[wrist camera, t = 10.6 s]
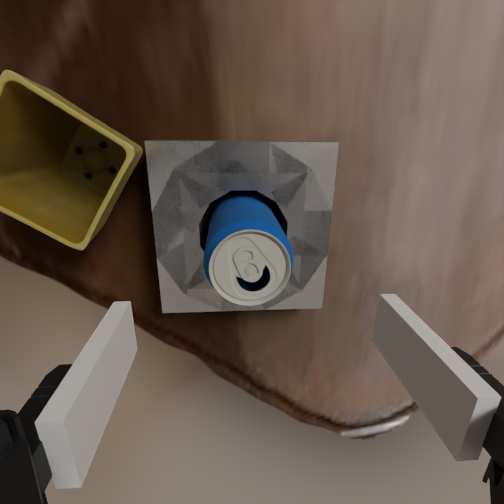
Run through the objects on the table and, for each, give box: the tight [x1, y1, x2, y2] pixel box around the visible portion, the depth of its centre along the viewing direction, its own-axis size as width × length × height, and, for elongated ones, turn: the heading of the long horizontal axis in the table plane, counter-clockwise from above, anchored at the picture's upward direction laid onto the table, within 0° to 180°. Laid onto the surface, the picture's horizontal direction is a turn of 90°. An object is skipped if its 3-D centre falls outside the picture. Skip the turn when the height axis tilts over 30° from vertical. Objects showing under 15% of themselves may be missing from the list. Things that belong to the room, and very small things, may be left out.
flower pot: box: [0, 70, 143, 250], centre depth 25 cm, size 9×9×9 cm
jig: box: [145, 140, 339, 313], centre depth 31 cm, size 16×16×4 cm
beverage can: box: [203, 193, 293, 306], centre depth 27 cm, size 6×6×12 cm
